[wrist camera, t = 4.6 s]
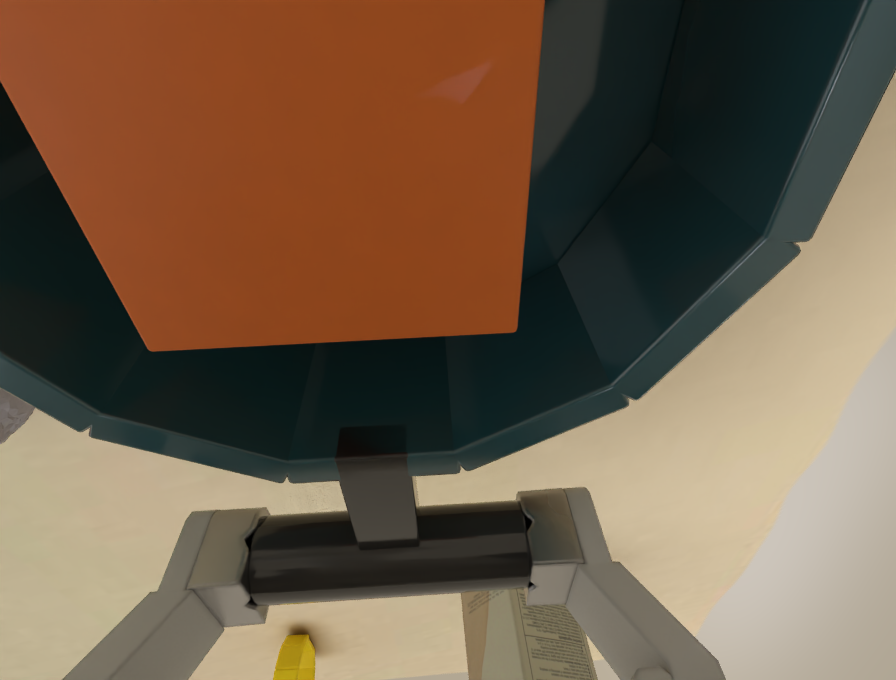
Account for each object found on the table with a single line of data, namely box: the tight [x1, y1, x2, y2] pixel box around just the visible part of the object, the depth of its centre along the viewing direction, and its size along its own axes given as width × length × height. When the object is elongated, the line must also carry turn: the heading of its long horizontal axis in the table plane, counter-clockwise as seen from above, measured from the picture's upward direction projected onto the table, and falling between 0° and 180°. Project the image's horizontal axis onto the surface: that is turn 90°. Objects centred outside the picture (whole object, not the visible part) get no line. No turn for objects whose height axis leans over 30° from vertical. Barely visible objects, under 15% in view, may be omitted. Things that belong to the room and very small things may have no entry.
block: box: [0, 0, 545, 352], centre depth 6 cm, size 4×4×4 cm
